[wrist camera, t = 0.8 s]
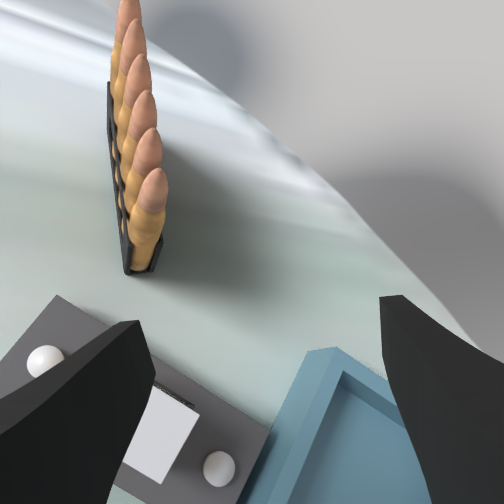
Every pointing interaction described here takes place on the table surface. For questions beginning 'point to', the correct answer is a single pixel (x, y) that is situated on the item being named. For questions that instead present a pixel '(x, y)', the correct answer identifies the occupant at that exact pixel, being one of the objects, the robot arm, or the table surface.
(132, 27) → the ammunition clip
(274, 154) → the table surface
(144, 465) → the block
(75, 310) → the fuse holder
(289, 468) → the parts tray
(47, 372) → the robot arm
